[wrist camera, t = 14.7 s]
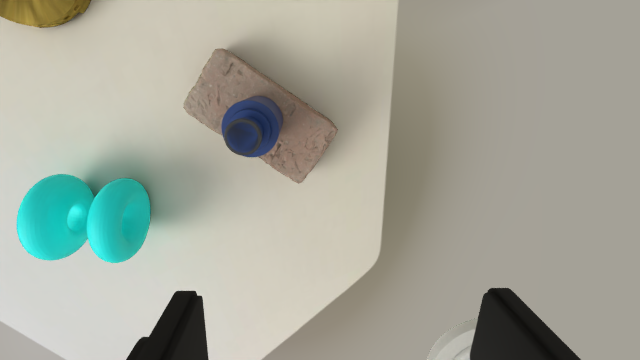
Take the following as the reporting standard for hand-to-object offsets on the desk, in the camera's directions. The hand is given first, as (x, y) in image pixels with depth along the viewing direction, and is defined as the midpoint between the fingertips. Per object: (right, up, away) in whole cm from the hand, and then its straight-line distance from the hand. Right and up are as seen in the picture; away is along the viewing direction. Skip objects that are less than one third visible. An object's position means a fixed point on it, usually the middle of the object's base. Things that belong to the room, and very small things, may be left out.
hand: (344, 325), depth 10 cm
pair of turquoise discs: (-28, +2, +32) cm, 43 cm away
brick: (-8, +13, +29) cm, 33 cm away
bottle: (-8, +12, +25) cm, 28 cm away
